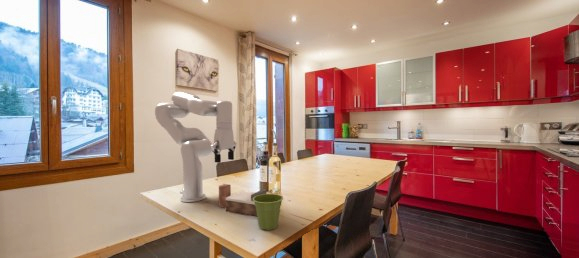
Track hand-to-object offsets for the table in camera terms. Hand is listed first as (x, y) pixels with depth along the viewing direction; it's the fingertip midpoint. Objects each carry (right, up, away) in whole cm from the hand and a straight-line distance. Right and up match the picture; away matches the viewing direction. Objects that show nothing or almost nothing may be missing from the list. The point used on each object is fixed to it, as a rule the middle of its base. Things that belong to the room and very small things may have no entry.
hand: (224, 160), depth 118 cm
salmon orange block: (0, -22, 0) cm, 22 cm away
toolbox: (+14, -22, -6) cm, 27 cm away
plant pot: (+24, -23, -24) cm, 41 cm away
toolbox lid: (+14, -17, -6) cm, 22 cm away
